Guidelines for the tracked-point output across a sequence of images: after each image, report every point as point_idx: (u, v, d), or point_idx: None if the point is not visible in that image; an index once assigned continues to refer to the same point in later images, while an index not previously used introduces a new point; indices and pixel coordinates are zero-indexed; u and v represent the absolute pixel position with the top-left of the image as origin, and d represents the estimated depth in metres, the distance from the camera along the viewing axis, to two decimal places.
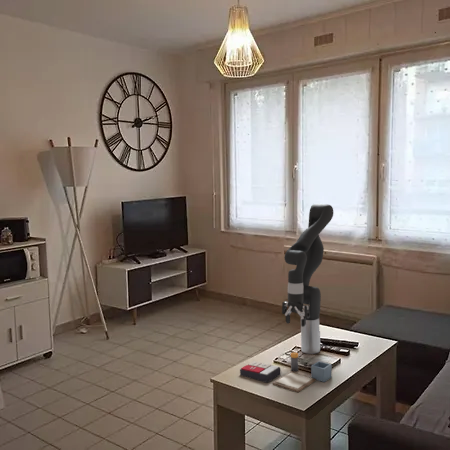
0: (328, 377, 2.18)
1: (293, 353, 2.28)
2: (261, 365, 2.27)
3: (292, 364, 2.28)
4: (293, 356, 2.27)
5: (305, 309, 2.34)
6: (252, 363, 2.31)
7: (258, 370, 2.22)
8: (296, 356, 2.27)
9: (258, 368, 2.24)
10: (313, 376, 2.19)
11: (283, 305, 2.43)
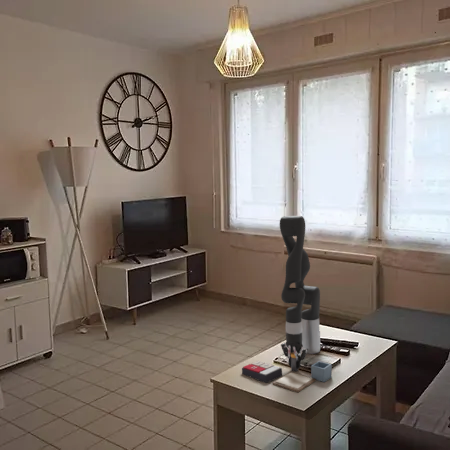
0: (328, 377, 2.18)
1: (293, 353, 2.28)
2: (263, 365, 2.27)
3: (292, 364, 2.28)
4: (293, 356, 2.27)
5: (303, 352, 2.23)
6: (255, 362, 2.31)
7: (258, 370, 2.22)
8: None
9: (259, 368, 2.24)
10: (313, 376, 2.19)
11: (283, 347, 2.31)
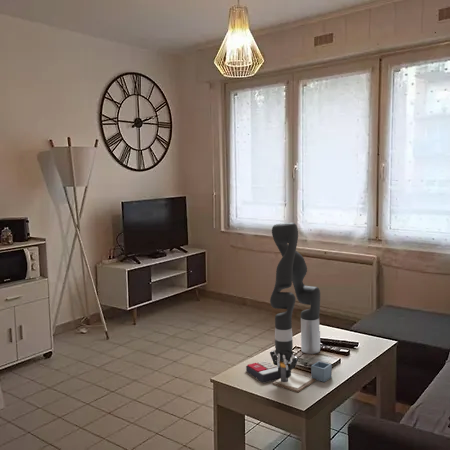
0: (328, 377, 2.18)
1: (283, 362, 2.15)
2: (267, 365, 2.27)
3: (282, 374, 2.14)
4: (283, 366, 2.13)
5: (293, 361, 2.10)
6: (261, 362, 2.32)
7: (259, 369, 2.23)
8: None
9: (261, 367, 2.25)
10: (313, 376, 2.19)
11: (272, 355, 2.17)
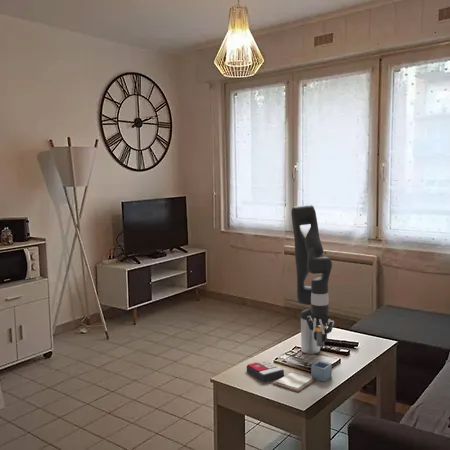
0: (328, 377, 2.18)
1: (319, 327, 2.17)
2: (268, 365, 2.27)
3: (318, 338, 2.17)
4: (319, 330, 2.16)
5: (330, 325, 2.12)
6: (262, 362, 2.32)
7: (259, 369, 2.23)
8: None
9: (261, 367, 2.25)
10: (313, 376, 2.19)
11: (307, 320, 2.20)
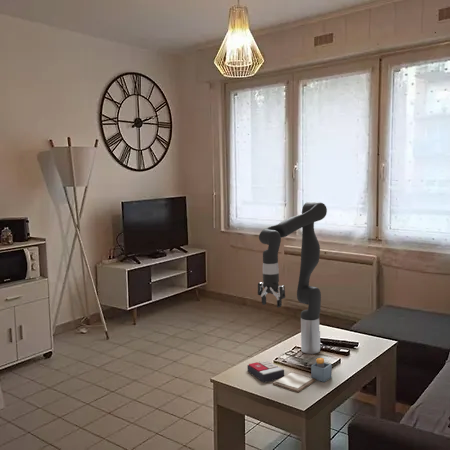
0: (328, 377, 2.18)
1: (319, 358, 2.19)
2: (268, 365, 2.27)
3: None
4: (319, 362, 2.18)
5: (280, 289, 2.29)
6: (263, 361, 2.32)
7: (260, 369, 2.23)
8: (322, 362, 2.18)
9: (262, 367, 2.25)
10: (313, 376, 2.19)
11: (259, 286, 2.37)
